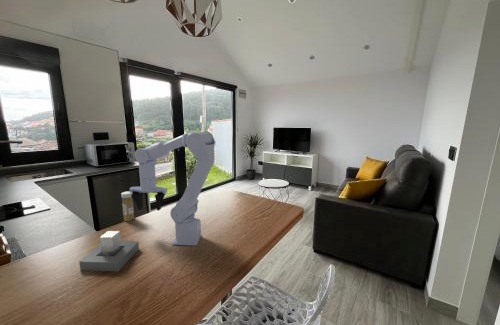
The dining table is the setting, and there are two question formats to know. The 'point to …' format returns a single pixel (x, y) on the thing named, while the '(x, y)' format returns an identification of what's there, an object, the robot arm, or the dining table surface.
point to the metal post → (110, 243)
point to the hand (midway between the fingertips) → (149, 209)
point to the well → (109, 258)
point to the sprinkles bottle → (127, 206)
